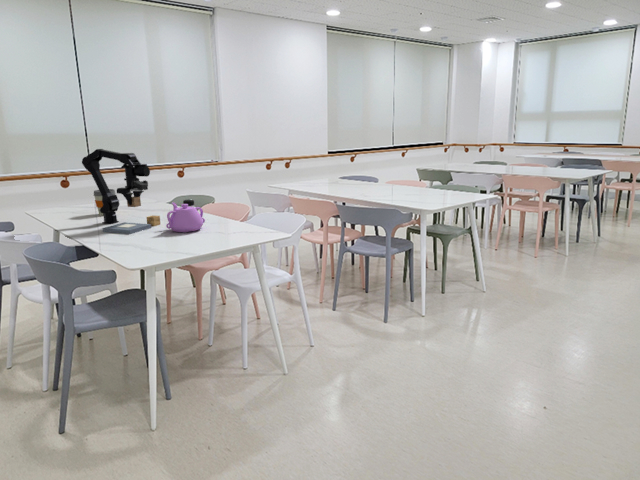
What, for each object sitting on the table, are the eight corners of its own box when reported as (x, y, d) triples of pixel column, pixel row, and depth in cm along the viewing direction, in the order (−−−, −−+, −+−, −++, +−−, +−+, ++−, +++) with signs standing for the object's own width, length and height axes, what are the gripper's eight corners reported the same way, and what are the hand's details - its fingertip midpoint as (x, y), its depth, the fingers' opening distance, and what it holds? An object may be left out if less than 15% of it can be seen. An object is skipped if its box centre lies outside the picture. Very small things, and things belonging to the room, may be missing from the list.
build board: (102, 231, 257) (102, 227, 257) (124, 225, 272) (124, 221, 271) (130, 234, 251) (129, 229, 250) (151, 227, 265) (150, 223, 265)
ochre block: (147, 225, 272) (146, 216, 271) (153, 224, 276) (152, 215, 275) (154, 226, 270) (153, 217, 269) (160, 224, 275) (159, 215, 273)
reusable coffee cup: (110, 211, 319) (107, 188, 315) (121, 213, 312) (119, 189, 308) (92, 214, 309) (89, 190, 305) (103, 216, 302) (100, 192, 298)
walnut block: (127, 206, 274) (126, 197, 273) (133, 205, 279) (132, 196, 277) (134, 207, 272) (133, 198, 271) (141, 205, 277) (140, 196, 276)
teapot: (192, 223, 275) (190, 199, 272) (213, 229, 260) (211, 203, 257) (155, 230, 260) (152, 204, 257) (175, 236, 245) (173, 208, 242)
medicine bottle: (193, 221, 281) (191, 200, 279) (181, 221, 283) (179, 200, 280) (198, 219, 288) (196, 198, 286) (187, 218, 290) (185, 198, 287)
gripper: (131, 178, 260) (134, 207, 264) (154, 174, 277) (156, 202, 281) (114, 178, 264) (117, 206, 268) (138, 174, 281) (141, 201, 285)
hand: (134, 204), depth 275 cm, fingers closed on walnut block, 5 cm apart
